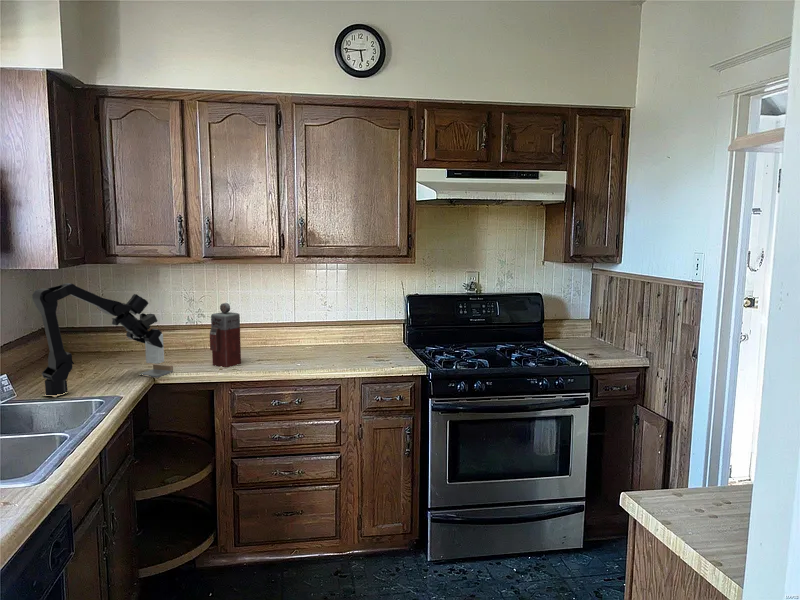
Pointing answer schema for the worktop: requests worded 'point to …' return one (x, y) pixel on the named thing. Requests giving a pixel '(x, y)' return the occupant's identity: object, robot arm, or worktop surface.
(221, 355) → the red french press
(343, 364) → the worktop surface
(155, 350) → the skincare box
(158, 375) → the plate
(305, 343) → the worktop surface
